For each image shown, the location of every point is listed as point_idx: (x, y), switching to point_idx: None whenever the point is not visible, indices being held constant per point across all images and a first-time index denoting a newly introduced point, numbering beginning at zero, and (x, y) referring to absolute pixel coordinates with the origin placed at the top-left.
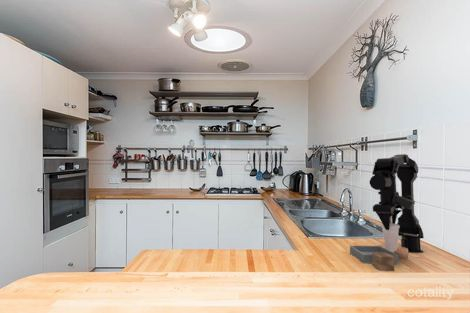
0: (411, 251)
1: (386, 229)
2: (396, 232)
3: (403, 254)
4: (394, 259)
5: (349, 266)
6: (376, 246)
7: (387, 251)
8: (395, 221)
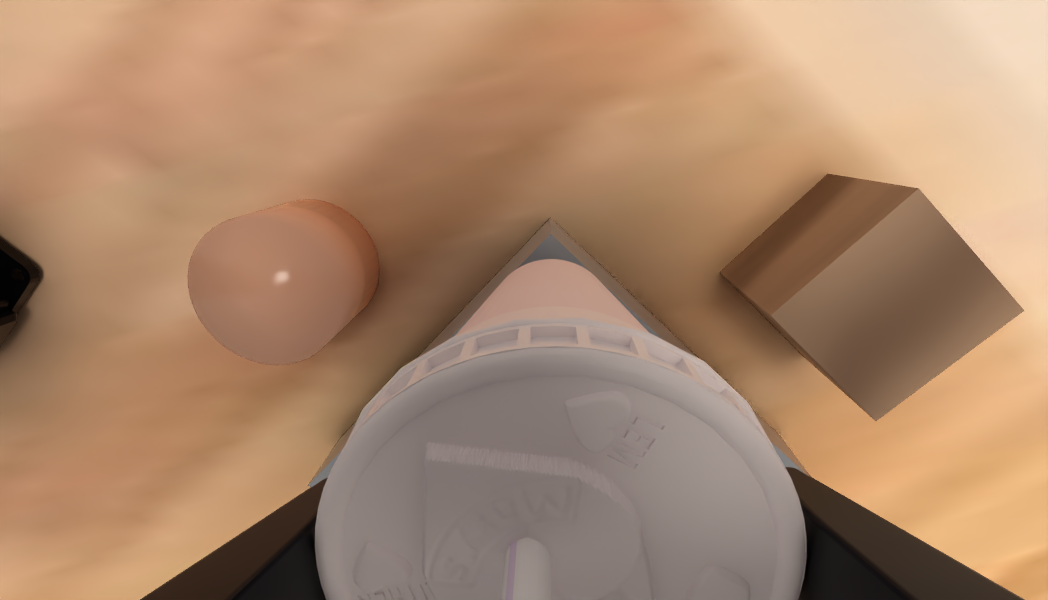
0: (10, 252)
1: None
2: (629, 325)
3: (344, 236)
4: (582, 254)
5: (960, 478)
6: None
7: None
8: (202, 573)
